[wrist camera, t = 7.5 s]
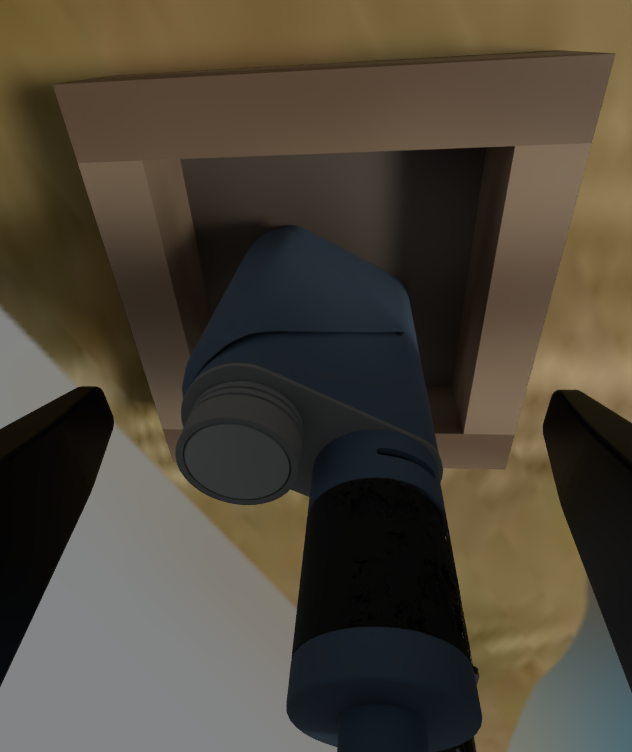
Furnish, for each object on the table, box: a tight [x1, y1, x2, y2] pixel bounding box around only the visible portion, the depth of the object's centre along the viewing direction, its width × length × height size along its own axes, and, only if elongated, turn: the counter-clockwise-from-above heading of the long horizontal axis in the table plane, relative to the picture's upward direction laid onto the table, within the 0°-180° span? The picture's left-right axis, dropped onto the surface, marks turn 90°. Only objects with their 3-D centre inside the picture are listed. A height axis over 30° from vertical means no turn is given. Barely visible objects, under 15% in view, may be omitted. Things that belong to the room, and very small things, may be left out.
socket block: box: [53, 50, 615, 469], centre depth 14 cm, size 11×11×3 cm
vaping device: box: [175, 226, 482, 752], centre depth 9 cm, size 3×5×12 cm, turn 63°
